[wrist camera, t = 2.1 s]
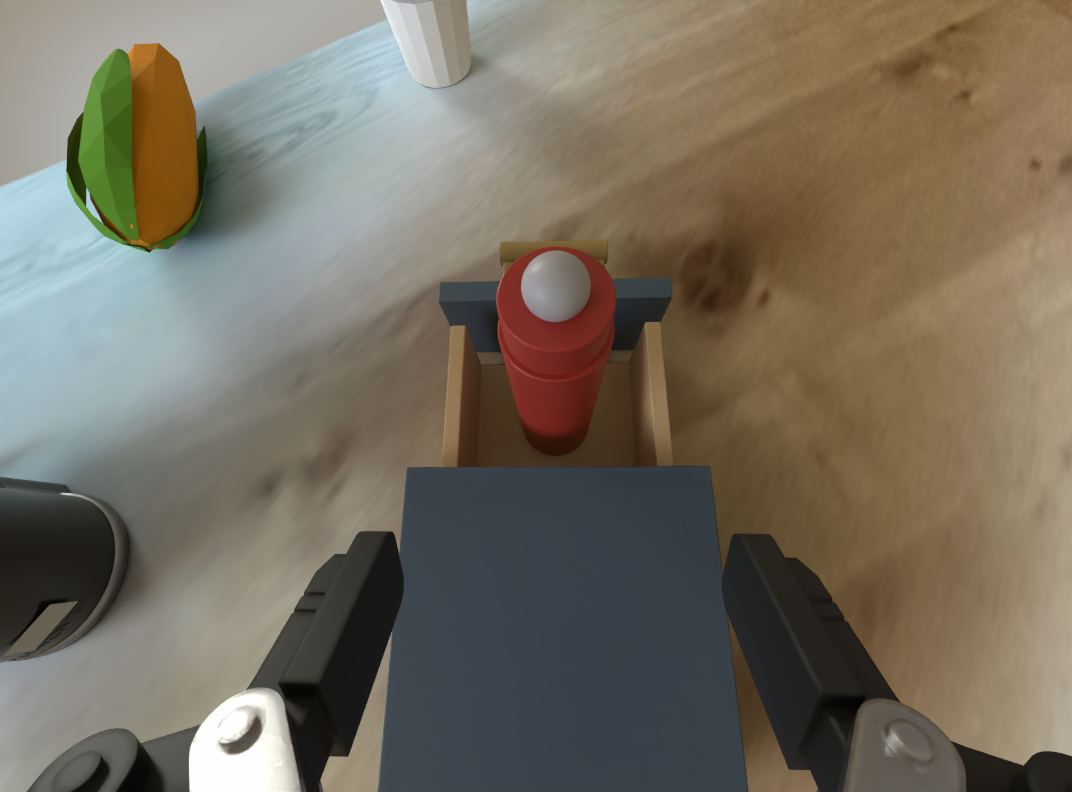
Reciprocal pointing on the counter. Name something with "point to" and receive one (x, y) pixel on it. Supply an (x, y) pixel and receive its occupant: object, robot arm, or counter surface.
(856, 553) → the counter surface
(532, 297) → the pepper mill
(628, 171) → the counter surface
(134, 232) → the corn
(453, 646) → the cabinet
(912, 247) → the counter surface
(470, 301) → the drawer
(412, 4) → the white faceted cylinder
